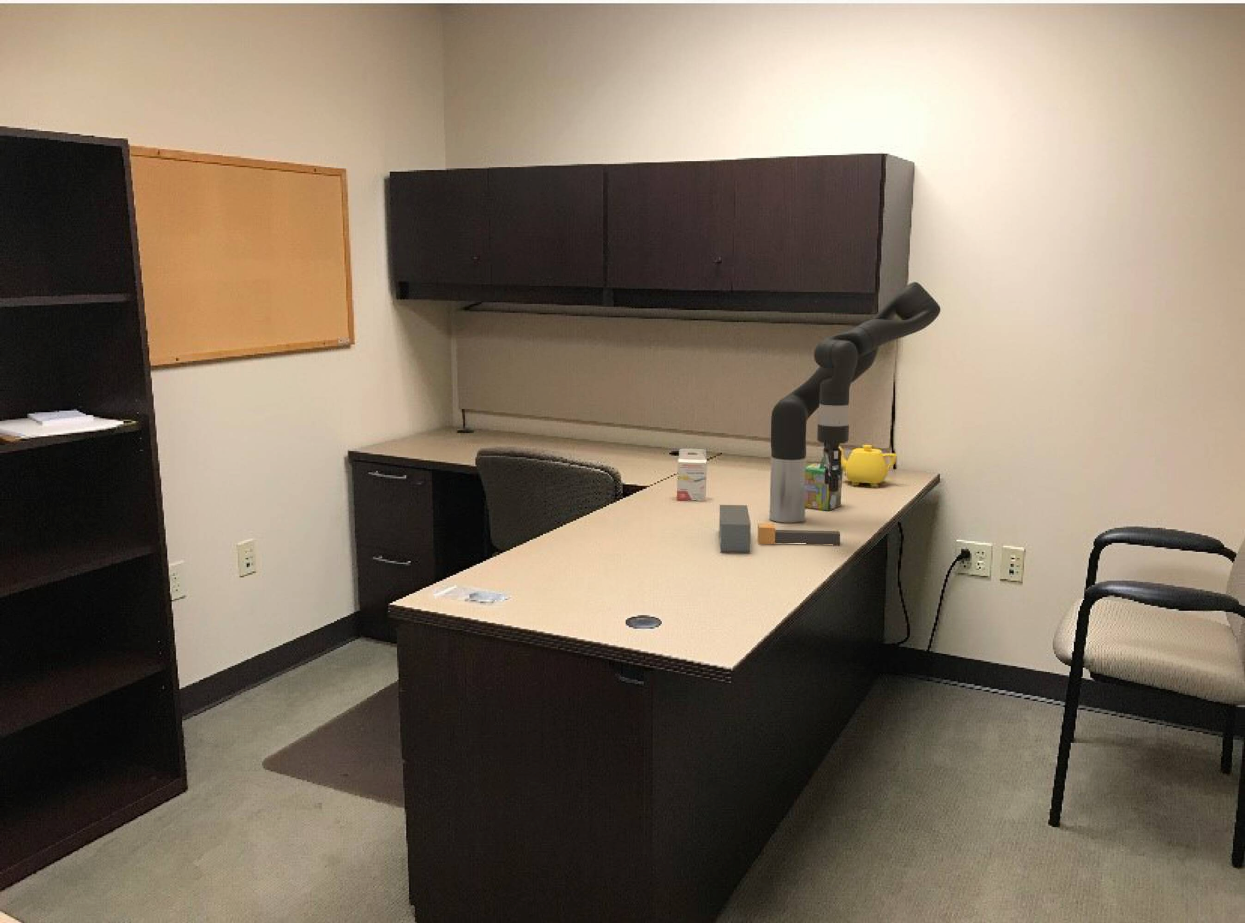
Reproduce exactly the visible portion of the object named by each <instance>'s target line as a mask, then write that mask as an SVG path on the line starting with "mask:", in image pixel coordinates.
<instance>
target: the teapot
mask: <svg viewBox="0 0 1245 923" xmlns="http://www.w3.org/2000/svg"><path fill="white" fill-rule="evenodd" d="M872 447H873V445H870V444H863V445H862V447H857V448H854V449H853V450H852V452H851V453H850V455H849V457H848V459H846V458H845V456H844V450H843V448H842V447H841V446H839V449H840V450H841V452H842V455H841V467H843V471H844V473H845V476H846V479H847V480H848V481H850V482H851V483H850V486H853V487H858V485H860V483H861V484H862V483H863V484H864V483H866V484H869V485H870V486H871V488H879V484H881V483H882V482H884V481H885V480H886V478H887V476H888V472H889V471H890V469H891V468H892V467H893V466H894V465H895V463H896V462H897V459H898V455H897V454H896V453H892V452H891V453H883V451H882V450H881V449H878V448H872ZM885 457H886V458H887V457H889V458H890V462H889V463H888V465H887V461H886V458H885ZM877 483H878V484H877Z"/></svg>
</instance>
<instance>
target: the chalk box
mask: <svg viewBox="0 0 1245 923" xmlns="http://www.w3.org/2000/svg"><path fill="white" fill-rule="evenodd" d="M834 470H837V469H836V468H834ZM843 471H844V470H843V467H841V475H839V476H838V477H839V481H838V491H837V492H830V491H829V484H825V482H824V480H825V469H824V464H823V457H822V459H821V461H820V463H817V462H813V463H811V464H809V465H807V466H806V468H805V487H806V497H805V509H806V508H807V509H813V510H821V511H827V512H830V511H831V510H833V509H835V508H838V507H839V506H841V505H842V486H843V485H842V484H843Z"/></svg>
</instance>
